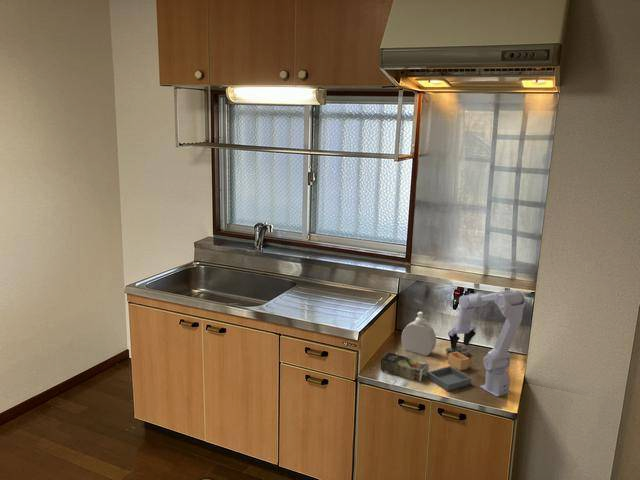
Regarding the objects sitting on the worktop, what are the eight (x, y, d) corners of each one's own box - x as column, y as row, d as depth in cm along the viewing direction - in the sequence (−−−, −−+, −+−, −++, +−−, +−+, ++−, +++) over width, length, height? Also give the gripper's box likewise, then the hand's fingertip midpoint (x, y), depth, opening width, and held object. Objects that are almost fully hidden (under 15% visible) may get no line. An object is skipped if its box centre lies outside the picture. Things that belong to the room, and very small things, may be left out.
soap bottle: (400, 349, 269) (402, 310, 265) (404, 345, 274) (406, 307, 269) (431, 357, 261) (434, 317, 256) (435, 353, 265) (438, 314, 261)
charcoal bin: (470, 384, 236) (471, 378, 235) (447, 391, 230) (448, 385, 229) (449, 372, 247) (450, 365, 246) (427, 378, 240) (427, 372, 240)
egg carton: (455, 361, 258) (456, 353, 257) (443, 355, 264) (443, 347, 263) (470, 355, 264) (471, 347, 264) (457, 350, 270) (458, 342, 269)
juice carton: (430, 374, 245) (431, 361, 243) (422, 383, 237) (423, 370, 235) (389, 363, 255) (389, 351, 254) (379, 372, 247) (380, 359, 245)
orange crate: (468, 368, 251) (469, 358, 249) (460, 371, 248) (461, 360, 247) (455, 361, 257) (456, 351, 256) (447, 363, 255) (448, 353, 254)
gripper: (470, 312, 252) (464, 338, 257) (446, 318, 245) (441, 344, 250) (481, 320, 247) (475, 346, 252) (457, 326, 239) (451, 353, 244)
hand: (459, 346), depth 250 cm, fingers open, 7 cm apart
